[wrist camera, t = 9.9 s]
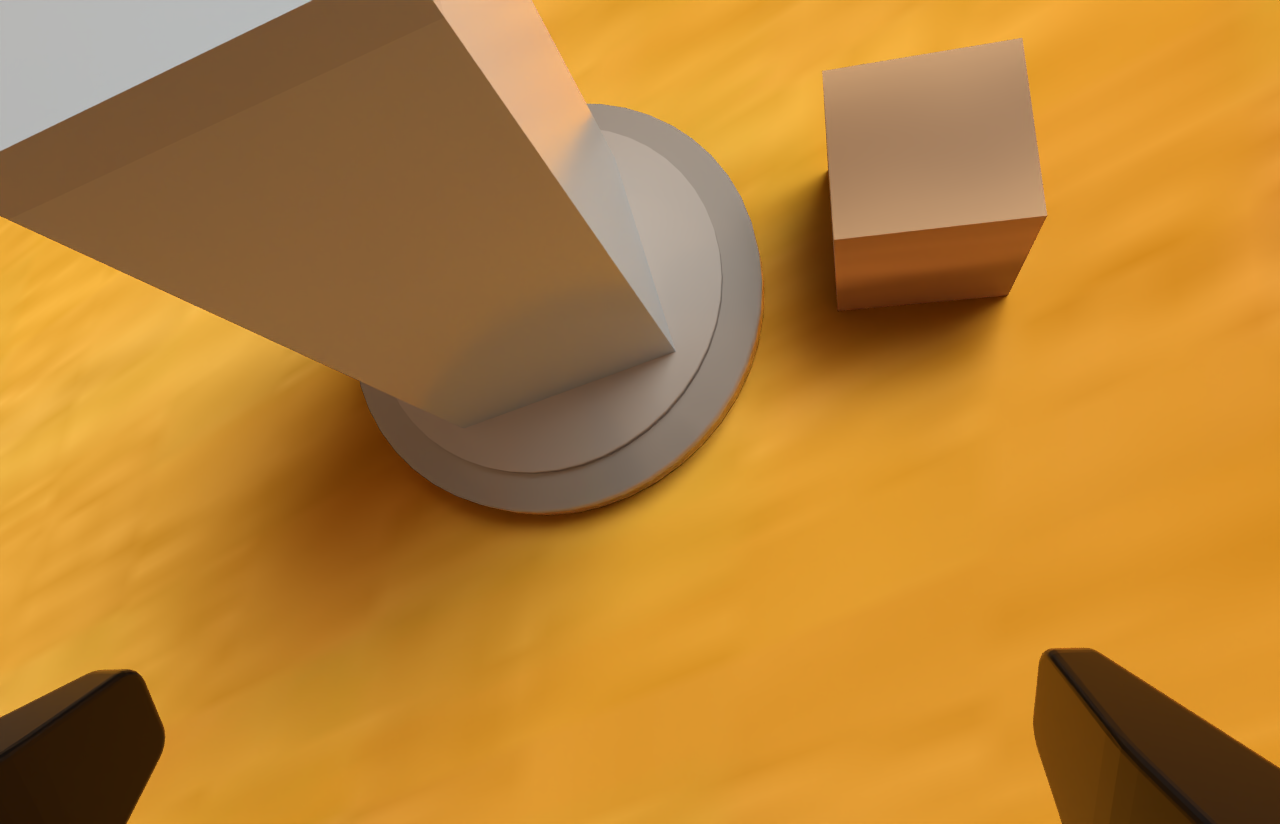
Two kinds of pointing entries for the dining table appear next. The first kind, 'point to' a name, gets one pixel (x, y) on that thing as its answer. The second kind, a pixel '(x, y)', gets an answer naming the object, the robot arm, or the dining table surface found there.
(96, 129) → the tall pale pillar
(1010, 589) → the dining table surface
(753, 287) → the taupe domed disc
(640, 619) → the dining table surface
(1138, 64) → the dining table surface
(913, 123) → the tan block
